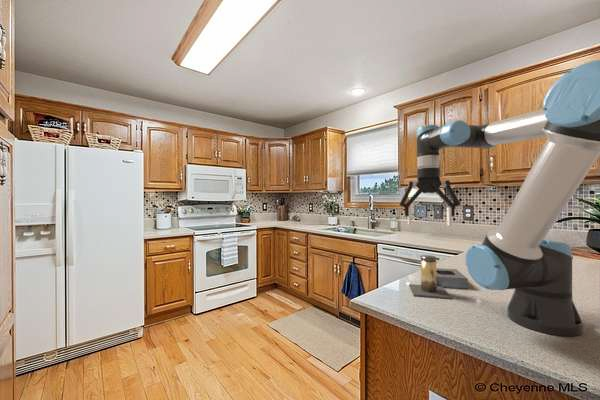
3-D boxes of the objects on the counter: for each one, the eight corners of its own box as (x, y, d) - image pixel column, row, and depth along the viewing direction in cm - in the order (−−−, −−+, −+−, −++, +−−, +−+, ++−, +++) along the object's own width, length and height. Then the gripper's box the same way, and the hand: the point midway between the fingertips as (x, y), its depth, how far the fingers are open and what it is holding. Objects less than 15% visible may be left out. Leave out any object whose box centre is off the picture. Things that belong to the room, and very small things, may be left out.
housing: (467, 288, 99) (467, 278, 100) (433, 286, 103) (433, 276, 103) (456, 278, 113) (456, 269, 113) (426, 276, 116) (426, 267, 116)
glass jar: (438, 293, 94) (437, 258, 94) (422, 292, 95) (422, 257, 95) (434, 288, 99) (434, 255, 99) (419, 287, 100) (419, 254, 100)
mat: (451, 299, 89) (451, 297, 89) (413, 296, 93) (413, 294, 93) (442, 287, 101) (442, 286, 101) (409, 285, 104) (409, 284, 104)
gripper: (462, 168, 97) (463, 224, 97) (392, 170, 104) (392, 223, 104) (469, 165, 90) (470, 226, 90) (393, 168, 97) (394, 225, 96)
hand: (429, 225), depth 97 cm, fingers open, 13 cm apart
